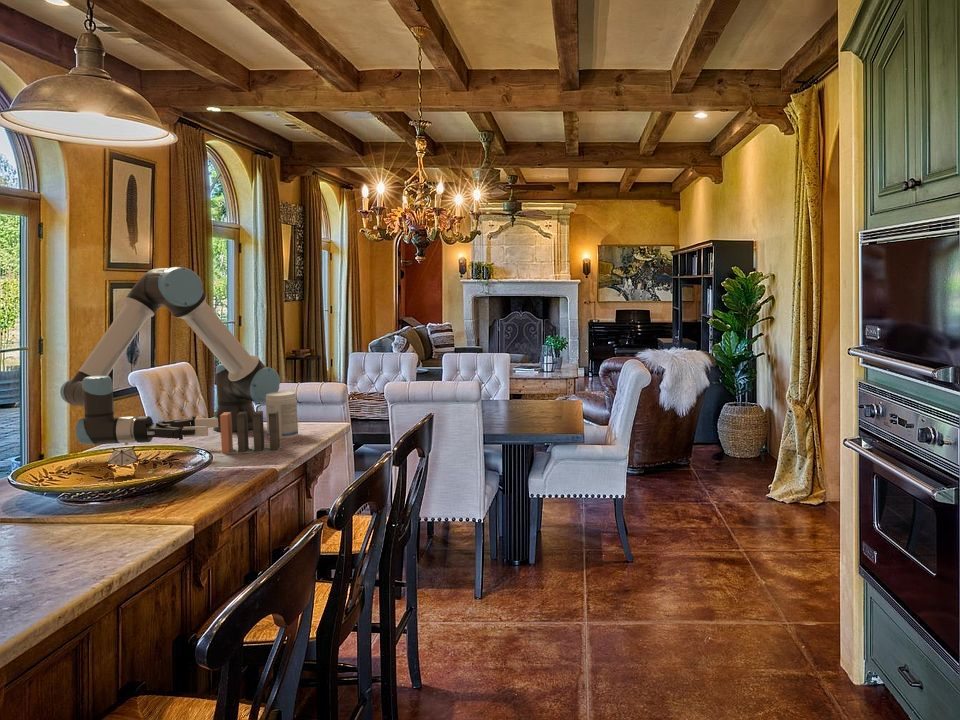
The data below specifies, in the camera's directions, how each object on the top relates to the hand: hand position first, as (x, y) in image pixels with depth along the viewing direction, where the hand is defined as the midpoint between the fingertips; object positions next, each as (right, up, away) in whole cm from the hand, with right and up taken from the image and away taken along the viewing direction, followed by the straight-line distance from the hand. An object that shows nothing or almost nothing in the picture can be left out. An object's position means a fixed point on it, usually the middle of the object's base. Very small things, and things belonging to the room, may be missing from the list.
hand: (213, 426), depth 221 cm
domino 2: (+8, -7, +2) cm, 11 cm away
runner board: (+11, -8, +2) cm, 13 cm away
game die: (-14, -11, -25) cm, 31 cm away
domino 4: (+17, -7, +3) cm, 19 cm away
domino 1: (+4, -7, +1) cm, 8 cm away
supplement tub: (+14, -6, +24) cm, 28 cm away
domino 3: (+13, -7, +2) cm, 15 cm away
